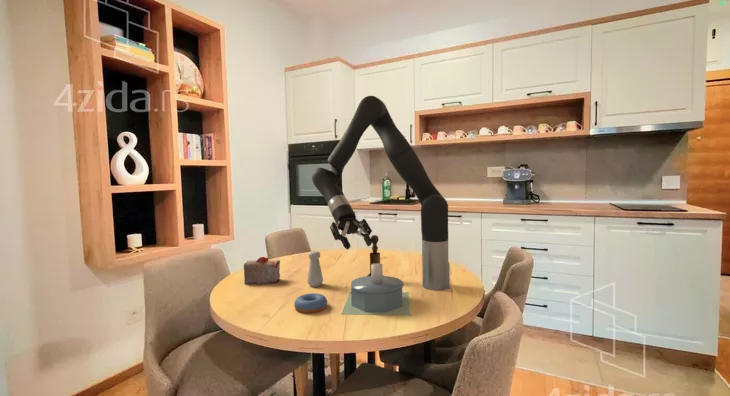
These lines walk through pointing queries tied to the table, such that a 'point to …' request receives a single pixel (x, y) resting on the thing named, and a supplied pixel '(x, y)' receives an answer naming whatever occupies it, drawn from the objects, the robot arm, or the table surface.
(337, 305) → the table surface
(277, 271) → the food item
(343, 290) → the table surface
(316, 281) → the salt shaker
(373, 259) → the dark brown tall piece
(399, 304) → the food cover
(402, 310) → the rubber mat
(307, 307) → the doughnut
